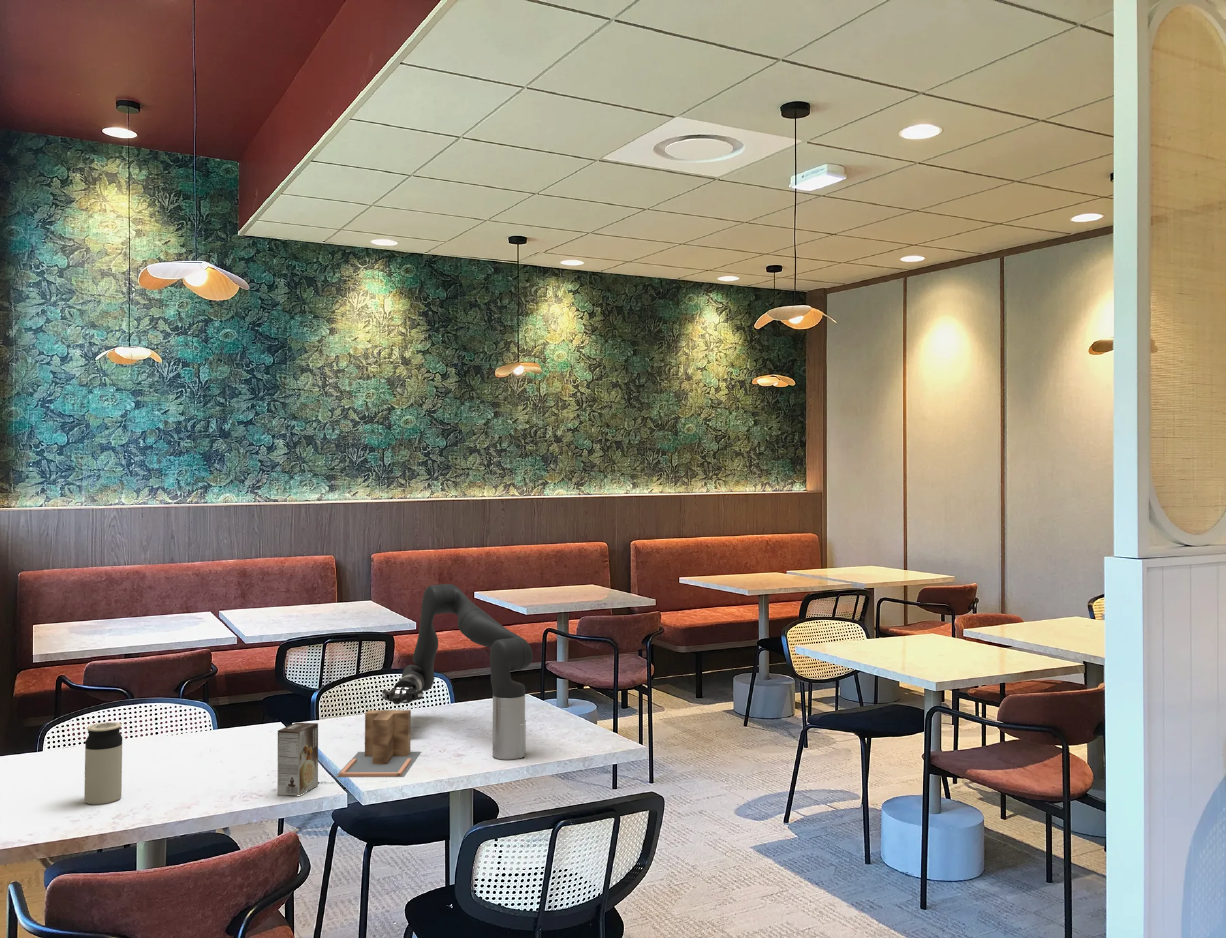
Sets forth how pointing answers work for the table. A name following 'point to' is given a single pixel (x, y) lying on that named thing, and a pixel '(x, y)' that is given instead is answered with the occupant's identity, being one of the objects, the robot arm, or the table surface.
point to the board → (378, 766)
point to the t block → (387, 734)
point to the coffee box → (297, 758)
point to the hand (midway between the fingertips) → (396, 700)
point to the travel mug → (103, 763)
